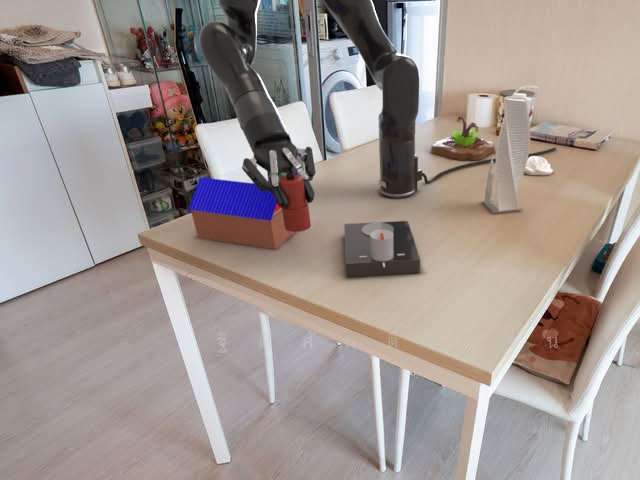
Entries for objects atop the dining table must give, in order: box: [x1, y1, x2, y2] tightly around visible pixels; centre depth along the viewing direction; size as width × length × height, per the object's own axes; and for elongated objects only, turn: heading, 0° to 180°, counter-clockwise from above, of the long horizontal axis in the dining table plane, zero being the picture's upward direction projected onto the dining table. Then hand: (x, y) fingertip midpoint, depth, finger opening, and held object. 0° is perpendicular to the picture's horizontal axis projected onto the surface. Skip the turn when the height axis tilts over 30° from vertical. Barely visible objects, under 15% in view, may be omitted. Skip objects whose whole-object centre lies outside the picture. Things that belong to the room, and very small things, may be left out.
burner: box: [362, 222, 394, 236], centre depth 97 cm, size 7×7×1 cm
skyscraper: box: [482, 84, 540, 215], centre depth 107 cm, size 8×8×28 cm
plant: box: [430, 116, 496, 162], centre depth 154 cm, size 20×20×11 cm
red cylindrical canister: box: [279, 172, 312, 233], centre depth 86 cm, size 5×5×10 cm
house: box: [187, 177, 296, 250], centre depth 100 cm, size 12×20×12 cm, turn 73°
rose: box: [524, 155, 554, 176], centre depth 138 cm, size 10×4×10 cm
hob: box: [343, 220, 421, 279], centre depth 93 cm, size 20×14×3 cm
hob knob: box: [370, 229, 394, 261], centre depth 86 cm, size 4×4×5 cm
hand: (298, 203), depth 85 cm, fingers closed on red cylindrical canister, 4 cm apart
